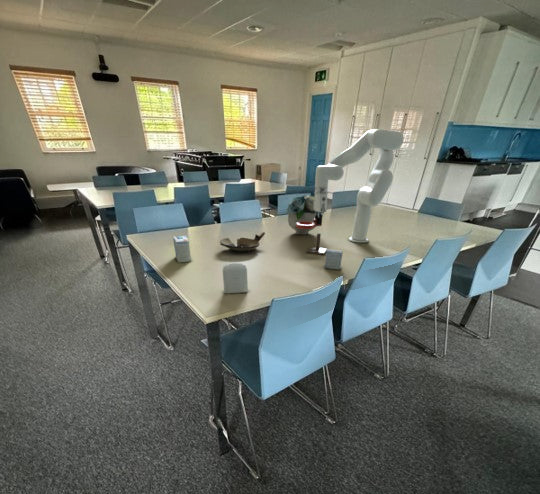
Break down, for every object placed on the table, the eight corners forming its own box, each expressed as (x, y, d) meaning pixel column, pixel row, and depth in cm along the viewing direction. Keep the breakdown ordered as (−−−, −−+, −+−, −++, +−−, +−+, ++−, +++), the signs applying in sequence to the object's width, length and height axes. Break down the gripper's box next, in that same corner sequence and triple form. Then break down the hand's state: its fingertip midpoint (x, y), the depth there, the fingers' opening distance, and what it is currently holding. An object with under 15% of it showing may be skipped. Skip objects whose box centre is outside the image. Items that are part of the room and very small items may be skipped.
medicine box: (340, 267, 162) (343, 250, 157) (339, 270, 159) (341, 253, 154) (325, 265, 164) (327, 248, 159) (324, 268, 161) (326, 251, 156)
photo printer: (224, 294, 131) (222, 265, 124) (223, 290, 134) (221, 262, 127) (248, 293, 133) (247, 264, 125) (247, 289, 136) (246, 261, 129)
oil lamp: (215, 246, 189) (214, 233, 184) (262, 243, 198) (262, 230, 193) (224, 257, 172) (223, 243, 167) (274, 253, 181) (275, 239, 176)
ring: (300, 229, 186) (300, 222, 184) (293, 225, 195) (293, 218, 193) (324, 227, 190) (325, 220, 187) (317, 223, 199) (317, 216, 197)
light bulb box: (175, 256, 171) (172, 236, 164) (187, 255, 173) (185, 235, 167) (179, 262, 163) (175, 241, 156) (191, 261, 165) (189, 240, 159)
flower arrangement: (321, 238, 211) (326, 198, 196) (285, 237, 211) (287, 197, 196) (317, 229, 231) (321, 192, 217) (284, 228, 231) (286, 191, 217)
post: (310, 248, 190) (312, 231, 184) (326, 250, 187) (329, 232, 181) (306, 253, 182) (308, 234, 176) (323, 255, 179) (325, 236, 173)
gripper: (332, 191, 177) (329, 226, 188) (321, 188, 189) (318, 220, 200) (320, 192, 175) (317, 227, 186) (309, 188, 188) (307, 221, 198)
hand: (318, 223), depth 193 cm, fingers closed on ring, 2 cm apart
